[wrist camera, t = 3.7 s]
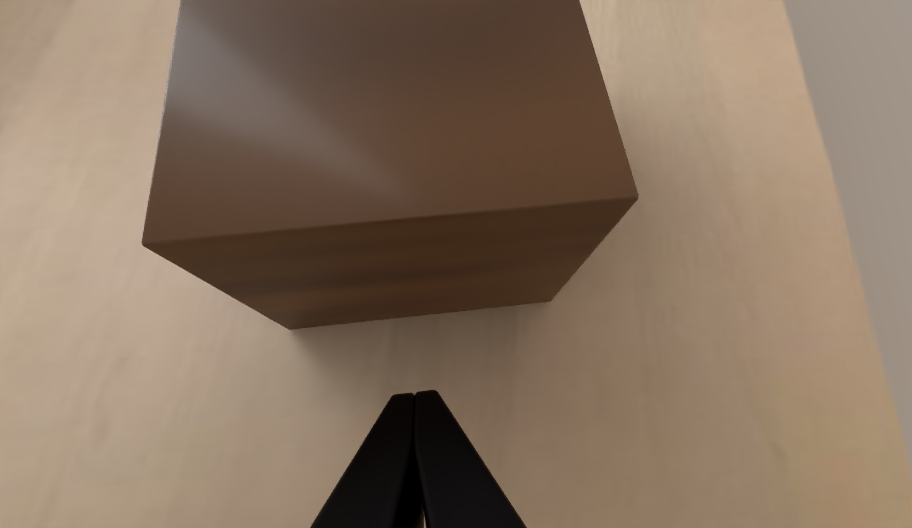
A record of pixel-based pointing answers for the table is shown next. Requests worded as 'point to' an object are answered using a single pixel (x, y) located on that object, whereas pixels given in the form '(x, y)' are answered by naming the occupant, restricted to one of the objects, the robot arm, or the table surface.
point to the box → (384, 155)
